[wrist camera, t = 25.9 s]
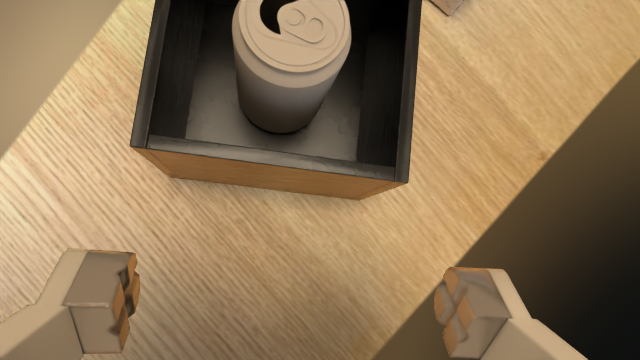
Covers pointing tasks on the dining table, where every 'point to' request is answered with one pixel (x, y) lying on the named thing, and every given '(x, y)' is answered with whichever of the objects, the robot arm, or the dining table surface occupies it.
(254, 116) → the beverage can
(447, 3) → the medicine box
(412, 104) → the dark storage bin
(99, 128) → the dining table surface
